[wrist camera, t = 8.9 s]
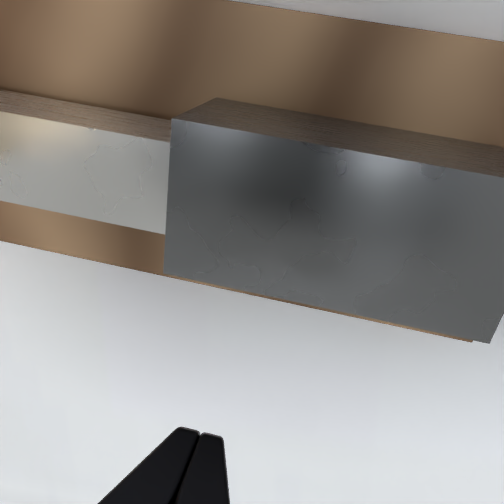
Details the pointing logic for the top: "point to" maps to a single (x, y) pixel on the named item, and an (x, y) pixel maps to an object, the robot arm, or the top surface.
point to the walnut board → (234, 86)
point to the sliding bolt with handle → (84, 161)
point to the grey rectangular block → (338, 215)
